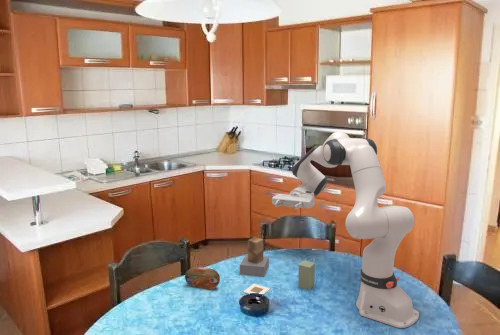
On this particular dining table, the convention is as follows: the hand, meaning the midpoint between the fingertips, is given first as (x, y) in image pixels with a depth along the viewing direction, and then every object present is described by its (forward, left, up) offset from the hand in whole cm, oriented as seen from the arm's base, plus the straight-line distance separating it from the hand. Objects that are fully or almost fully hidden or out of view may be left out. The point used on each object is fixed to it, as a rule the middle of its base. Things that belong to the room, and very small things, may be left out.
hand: (285, 206), depth 192 cm
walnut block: (+3, +16, -23) cm, 28 cm away
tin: (+7, +43, -28) cm, 51 cm away
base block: (+4, +16, -28) cm, 32 cm away
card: (-11, +29, -27) cm, 41 cm away
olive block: (-23, +11, -27) cm, 37 cm away
